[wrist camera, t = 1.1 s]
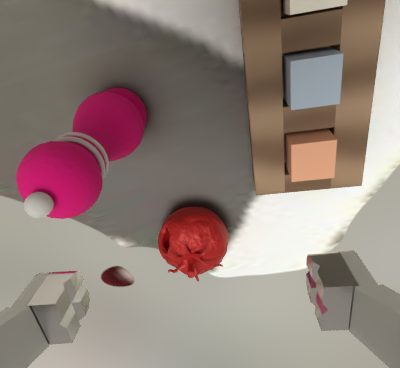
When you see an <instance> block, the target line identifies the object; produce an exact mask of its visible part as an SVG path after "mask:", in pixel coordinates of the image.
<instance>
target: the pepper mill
mask: <svg viewBox="0 0 400 368" xmlns="http://www.w3.org/2000/svg"><path fill="white" fill-rule="evenodd" d="M146 122H147V111H146V108H145V105H144V103H143V102H142V100H141V99H140V98H139V97H138V96H137V95H136V94H135V93H133V92H132V91H130V90H128V89H124V88H119V87H116V88H111V89H108V90H106V91H104V92H101V93H96V94H94V95H91V96H90V97H88V98H87V99H86V100H85V101H84V102H83V103H82V104H81V105H80V106H79V108H78V110H77V112H76V114H75V117H74V120H73V131H72V132H70V133H65V134H62V135H60V136H59V137H58V138H56V139H55V140H54V141H50V142H47V143H43V144H40V145H38V146H36V147H34V148H33V149H32V150H31V151H29V152H28V153H27V154H26V155H25V157H24V158H23V159H22V161H21V163H20V165H19V167H18V171H17V174H16V181H17V186H18V190H19V192H20V195H21V196H22V198H23V199H24V201H25V202H24V209H25V211H26V213H27V214H28V215H30V216H31V217H35V218H42V217H45V216H48V217H51V218H61V219H64V218H71V217H74V216H78V215H80V214H82V213H84V212H85V211H86V210H88V209H89V208H90V207H91V206H92V205H93V204H94V203H95V202H96V200H97V199H98V197H99V195H100V192H101V190H102V180H103V178H104V177H105V176H106V174H107V172H108V169H109V161H114V160H118V159H121V158H123V157H126V156H127V155H129V154H131V153H132V152H133V151H134V150H135V149H136V148H137V146H138V145H139V144H140V142H141V140H142V137H143V132H144V127H145V125H146Z"/></svg>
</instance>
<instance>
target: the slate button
mask: <svg viewBox="0 0 400 368" xmlns="http://www.w3.org/2000/svg"><path fill="white" fill-rule="evenodd" d="M343 54H344V53H342V52H340V51H338V50H335V49H333V48H326V49H319V50H313V51H307V52H300V53H294V54H288V55H284V77H285V101H286V103H287V104H288V106H289V108H290V110H297V109H305V108H312V107H320V106H328V105H335V104H340V94H341V81H342V67H343Z"/></svg>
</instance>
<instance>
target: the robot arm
mask: <svg viewBox="0 0 400 368" xmlns="http://www.w3.org/2000/svg"><path fill="white" fill-rule="evenodd" d="M307 266H308V269H309V272H308V273H307V274H306V284H307V291H308V295H309V298H310V301H311V303H313V304H314V305H315V315H316V317H317V320H318V323H319V325H320V328H321V330H323V331H325V330H349V331H350V332H351V333H352V334H353V335H354V336H355V337H356V338H357V339H358V340H359V341H360V342H362V343H363V344H364V345H365V346H366V347H367V348H368V349H370V351H372V352H373V353H374V354H375V355H376V356H377V357H378V358H379V359H380V360H381V361H383V362H384V363H385V364H386V365H387V366H388V367H389V368H400V294H398V293H397V292H395V291H393V290H391V289H390V288H388V287H386V286H384V285H378V284H377V283H376V281H375V280H374V278H373V277H372V275H371V274H370V272H369V271H368V269H367V268H366V266H365V265H364V263H363V262H362V260H361V259H360V257H359V256H358V254H357V253H356V252H355V251H343V252H338V253H323V254H310V255H308V256H307ZM82 282H83V277H82V275H81V273H80V272H78V271H68V272H52V273H39V274H37V275H35V276H34V278H33V279H32V280H31V282H30V283H29V284H28V286H27V287H26V288H25V289H24V291H23V292H22V293H21V295H20V296H19V298H18V299H17V300H16V301H15V303H14V304H13V305H12V306H11V307H9V308H5V309H4V310H2V311H1V312H0V368H27V367H28V366H29V365H30V364H31V363H32V362H33V361H34V360H35V359H36V358H37V357H38V356H39V355H40V354H41V353H42V352H43V351H44V350H45V349H46V348H47V347H48V346H49V344H61V343H72V342H73V341H74V339H75V336H76V334H77V332H78V330H79V328H80V323H79V320H80V319H82V318H83V317H84V316H85V315H86V313H87V311H88V308H89V301H90V299H89V293H88V290H87V288H86V287H84V286H83V285H82Z"/></svg>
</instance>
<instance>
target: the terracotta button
mask: <svg viewBox="0 0 400 368" xmlns="http://www.w3.org/2000/svg"><path fill="white" fill-rule="evenodd" d="M336 149H337V139H336V138H335V136H334V135H333V134H332V132H331V131H330V130H329V129H328V128H323V129H315V130H307V131H298V132H290V133H286V168H287V170H288V173H289V176H290V179H291V182H298V181H308V180H318V179H329V178H334V176H335V162H336Z"/></svg>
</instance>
